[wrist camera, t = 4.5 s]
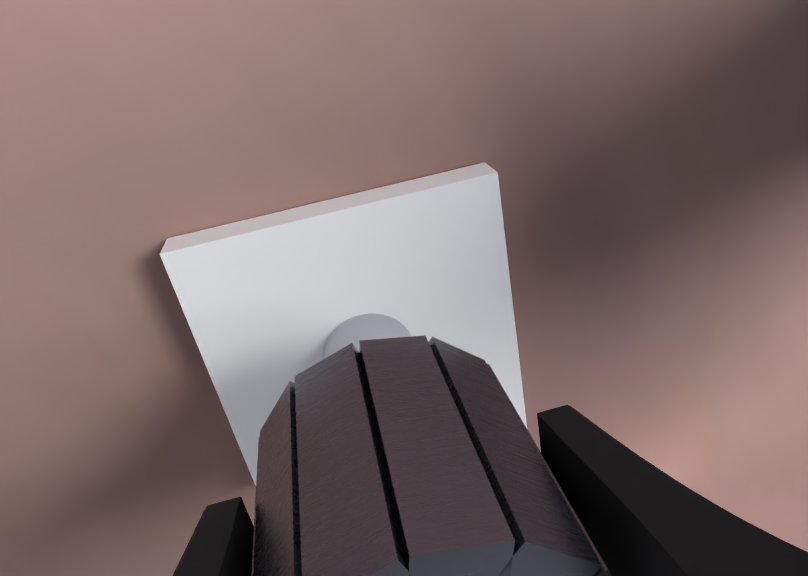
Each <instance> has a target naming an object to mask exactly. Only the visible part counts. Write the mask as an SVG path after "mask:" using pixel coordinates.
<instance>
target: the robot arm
mask: <svg viewBox="0 0 808 576" xmlns="http://www.w3.org/2000/svg"><path fill="white" fill-rule="evenodd" d="M537 417H538V426H539V436H540V445H541V454H542V456H543V457H544V459H545V461H546V463H547V464H548V466H549V468H550V469H551V471H552V473H553V475H554V476H555V478H556V480H557V482H558V483H559V485H560V487H561V488H562V490H563V492H564V494H565V495H566V497H567V499H568V501H569V502H570V504H571V506H572V507H573V509H574V511H575V513H576V514H577V516H578V518H579V520H580V521H581V523H582V525H583V526H584V528H585V530H586V532H587V533H588V535H589V537H590V539H591V540H592V542H593V544H594V545H595V547H596V549H597V551H598V552H599V554H600V556H601V557H602V559H603V561H604V563H605V564H606V566H607V568H608V570H609V571H610V573H611V575H612V576H808V552H806V551H804V550H802V549H800V548H798V547H795V546H793V545H791V544H789V543H787V542H785V541H783V540H781V539H779V538H777V537H775V536H773V535H771V534H769V533H767V532H765V531H764V530H762V529H760V528H758V527H756V526H754V525H752V524H750V523H748V522H746V521H744V520H742V519H741V518H739V517H737V516H735V515H733V514H732V513H730V512H728V511H726V510H725V509H723V508H721V507H719V506H718V505H716V504H714V503H712V502H711V501H709V500H707V499H706V498H704V497H702V496H701V495H699V494H697V493H696V492H694V491H692V490H691V489H689V488H688V487H686V486H684V485H683V484H681V483H680V482H678V481H676V480H675V479H673V478H672V477H670V476H669V475H667V474H666V473H664V472H663V471H661V470H660V469H658V468H657V467H655V466H654V465H652V464H651V463H649V462H648V461H646V460H645V459H643V458H642V457H640V456H639V455H637V454H636V453H634V452H633V451H631V450H630V449H629V448H627V447H626V446H624V445H623V444H621V443H620V442H619V441H617V440H616V439H614V438H613V437H612V436H610V435H609V434H608V433H606V432H605V431H603V430H602V429H601V428H599V427H598V426H597V425H595V424H594V423H593V422H591V421H590V420H589V419H587V418H586V417H584V416H583V415H582V414H580V413H579V412H578V411H576V410H575V409H574V408H572V407H571V406H569V405H565V406H561V407H558V408H554V409H550V410H547V411H543V412H540V413H537ZM253 540H254V526H253V524H252V521H251V519H250V517H249V515H248V512H247V510H246V508H245V505H244V503H243V501H242V498H241V497H238V498H234V499H231V500H227V501H223V502H220V503H216V504H213V505H209V506H207V507H206V509H205V510H204V512H203V514H202V516H201V518H200V520H199V522H198V524H197V527H196V529H195V531H194V533H193V535H192V537H191V539H190V541H189V543H188V545H187V548H186V550H185V552H184V554H183V556H182V558H181V560H180V562H179V564H178V566H177V568H176V570H175V572H174V574H173V576H252V559H253Z"/></svg>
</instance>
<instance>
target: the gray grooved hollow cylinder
mask: <svg viewBox="0 0 808 576" xmlns="http://www.w3.org/2000/svg"><path fill="white" fill-rule="evenodd" d="M252 576H612V575H611V573H610V571H609V570H608V568H607V566H606V564H605V563H604V561H603V559H602V557H601V556H600V554H599V552H598V551H597V549H596V547H595V545H594V544H593V542H592V540H591V539H590V537H589V535H588V533H587V532H586V530H585V528H584V526H583V525H582V523H581V521H580V520H579V518H578V516H577V514H576V513H575V511H574V509H573V507H572V506H571V504H570V502H569V501H568V499H567V497H566V495H565V494H564V492H563V490H562V488H561V487H560V485H559V483H558V482H557V480H556V478H555V476H554V475H553V473H552V471H551V469H550V468H549V466H548V464H547V463H546V461H545V459H544V457H543V456H542V454H541V452H540V450H539V449H538V447H537V445H536V444H535V442H534V440H533V438H532V437H531V435H530V433H529V431H528V430H527V428H526V426H525V425H524V423H523V421H522V419H521V418H520V416H519V414H518V412H517V411H516V409H515V407H514V406H513V404H512V402H511V400H510V399H509V397H508V395H507V394H506V392H505V390H504V389H503V387H502V385H501V383H500V382H499V380H498V378H497V377H496V375H495V373H494V372H493V370H492V368H491V367H490V365H489V364H487V363H486V362H485V360H484V359H481V358H479V357H477V356H475V355H472V354H470V353H468V352H466V351H463V350H461V349H459V348H457V347H455V346H452V345H450V344H448V343H446V342H443V341H441V340H439V339H437V338H434V337H432V338H431V339H430V341H429V342H428V340H427V338H426V336H425V335H424V336H411V337H398V338H385V339H372V340H359V351H358V350H357V349H356V347H355V346H354V345H353V343H351V344H349V345H347V346H346V347H344V348H342V349H340V350H339V351H337V352H335V353H334V354H332V355H330V356H328V357H327V358H325V359H323V360H322V361H320V362H318V363H316V364H315V365H313V366H311V367H310V368H308V369H306V370H304V371H303V372H301V373H299V374H298V375H296V376H295V383H293V382H291V381H289V383H288V385H287V386H286V388H285V390H284V391H283V393H282V395H281V396H280V398H279V400H278V401H277V403H276V405H275V407H274V408H273V410H272V412H271V413H270V415H269V417H268V418H267V420H266V422H265V423H264V425H263V427H262V429H261V430H260V437H259V441H258V461H257V480H256V500H255V520H254V540H253V559H252Z"/></svg>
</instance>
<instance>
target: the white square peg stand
mask: <svg viewBox="0 0 808 576" xmlns="http://www.w3.org/2000/svg"><path fill="white" fill-rule="evenodd" d="M160 256H161V259H162V261H163V263H164V266H165V268H166V271H167V273H168V276H169V278H170V280H171V283H172V285H173V288H174V290H175V292H176V295H177V297H178V300H179V302H180V305H181V307H182V309H183V312H184V314H185V317H186V319H187V321H188V324H189V326H190V329H191V331H192V334H193V336H194V338H195V341H196V343H197V346H198V348H199V350H200V353H201V355H202V358H203V360H204V363H205V365H206V367H207V370H208V372H209V375H210V377H211V379H212V382H213V384H214V387H215V389H216V392H217V394H218V396H219V399H220V401H221V404H222V406H223V408H224V411H225V413H226V416H227V418H228V421H229V423H230V425H231V428H232V430H233V433H234V435H235V437H236V440H237V442H238V445H239V447H240V450H241V452H242V454H243V457H244V459H245V462H246V464H247V466H248V469H249V471H250V474H251V476H252V479H253V481H254V483H255V486H256V480H257V461H258V441H259V437H260V430H261V429H262V427H263V425H264V423H265V422H266V420H267V418H268V417H269V415H270V413H271V412H272V410H273V408H274V407H275V405H276V403H277V401H278V400H279V398H280V396H281V395H282V393H283V391H284V390H285V388H286V386H287V385H288V383H289V381H291V382H293V383H295V376H296V375H298V374H299V373H301V372H303V371H304V370H306V369H308V368H310V367H311V366H313V365H315V364H316V363H318V362H320V361H322V360H323V359H325V358H327V357H328V356H330V355H332V354H334V353H335V352H337V351H339V350H340V349H342V348H344V347H346V346H347V345H349V344H351V343H353V345H354V346H355V347H356V349H357V350H358V351H359V340H372V339H385V338H398V337H411V336H424V335H425V336H426V338H427V340H428V342H429V341H430V339H431V338H432V337H434V338H437V339H439V340H441V341H443V342H446V343H448V344H450V345H452V346H455V347H457V348H459V349H461V350H463V351H466V352H468V353H470V354H472V355H475V356H477V357H479V358H481V359H484V360H485V362H486V363H487V364H489V365H490V367H491V368H492V370H493V372H494V373H495V375H496V377H497V378H498V380H499V382H500V383H501V385H502V387H503V389H504V390H505V392H506V394H507V395H508V397H509V399H510V400H511V402H512V404H513V406H514V407H515V409H516V411H517V412H518V414H519V416H520V418H521V419H522V421H523V423H524V425H525V426H526V428H527V423H526V414H525V405H524V397H523V388H522V379H521V371H520V362H519V353H518V345H517V336H516V327H515V319H514V310H513V301H512V293H511V284H510V275H509V267H508V258H507V249H506V241H505V232H504V223H503V215H502V206H501V197H500V189H499V180H498V172H497V171H495V170H494V169H493V168H491V167H490V166H489V165H488V164H486V163H485V162H484V163H480V164H475V165H471V166H467V167H463V168H459V169H455V170H450V171H446V172H442V173H438V174H434V175H430V176H425V177H421V178H417V179H413V180H409V181H405V182H400V183H396V184H392V185H388V186H384V187H380V188H375V189H371V190H367V191H363V192H359V193H355V194H350V195H346V196H342V197H338V198H334V199H330V200H325V201H321V202H317V203H313V204H309V205H305V206H300V207H296V208H292V209H288V210H284V211H280V212H275V213H271V214H267V215H263V216H259V217H255V218H250V219H246V220H242V221H238V222H234V223H230V224H225V225H221V226H217V227H213V228H209V229H205V230H200V231H196V232H192V233H188V234H184V235H180V236H175V237H171V238H167V240H166V242H165V244H164V246H163V248H162V250H161V252H160Z"/></svg>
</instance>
